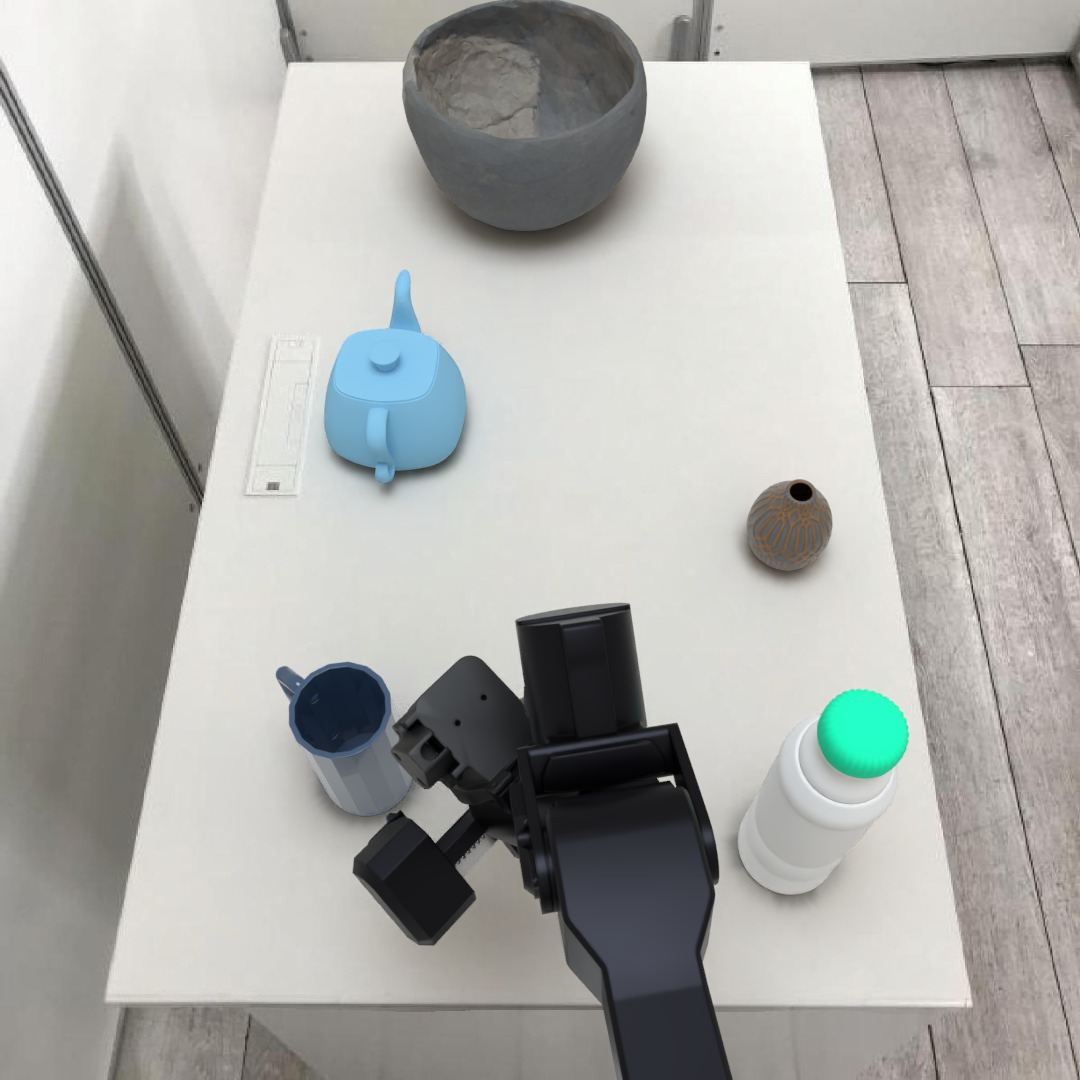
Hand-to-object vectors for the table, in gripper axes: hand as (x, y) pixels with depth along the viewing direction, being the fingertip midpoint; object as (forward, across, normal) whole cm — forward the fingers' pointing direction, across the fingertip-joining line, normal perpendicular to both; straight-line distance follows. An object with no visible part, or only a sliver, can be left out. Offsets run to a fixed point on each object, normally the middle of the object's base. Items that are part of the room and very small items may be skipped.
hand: (444, 768), depth 68 cm
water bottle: (-2, -16, +23) cm, 28 cm away
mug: (+17, +1, +1) cm, 17 cm away
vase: (+6, -37, +10) cm, 38 cm away
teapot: (+29, -25, -16) cm, 41 cm away
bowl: (+36, -56, -27) cm, 71 cm away
